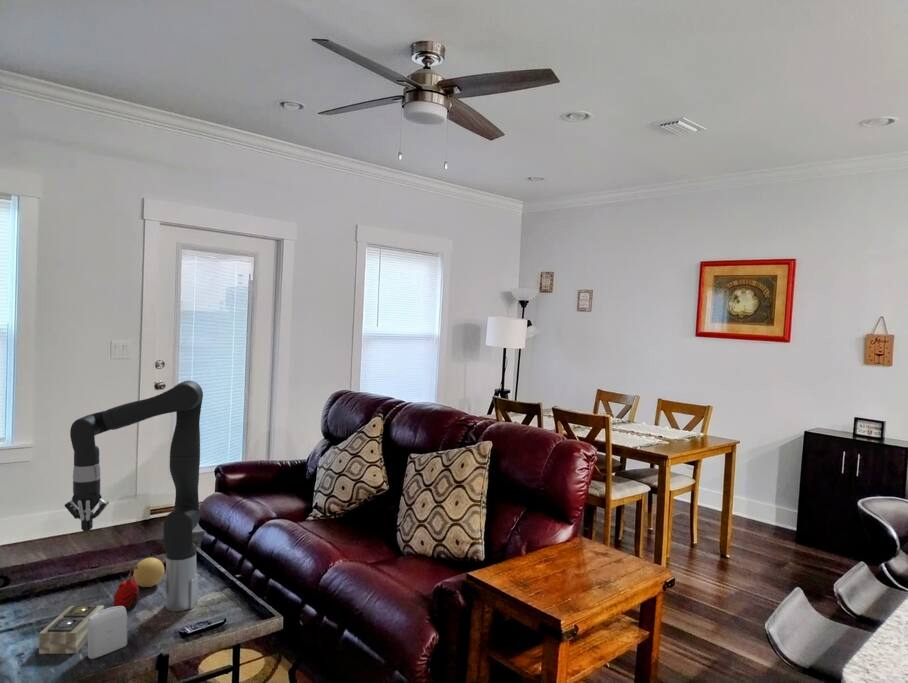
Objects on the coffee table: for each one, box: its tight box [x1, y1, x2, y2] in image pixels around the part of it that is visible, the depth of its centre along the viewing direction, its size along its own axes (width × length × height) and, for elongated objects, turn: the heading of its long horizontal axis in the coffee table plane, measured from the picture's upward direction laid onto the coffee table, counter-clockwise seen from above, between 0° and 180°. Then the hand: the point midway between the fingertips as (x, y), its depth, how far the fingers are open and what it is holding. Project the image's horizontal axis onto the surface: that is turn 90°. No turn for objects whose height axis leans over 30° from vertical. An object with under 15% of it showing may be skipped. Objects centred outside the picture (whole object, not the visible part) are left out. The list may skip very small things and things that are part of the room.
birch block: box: [38, 604, 105, 655], centre depth 180 cm, size 10×16×7 cm, turn 5°
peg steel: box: [58, 620, 73, 628], centre depth 176 cm, size 4×4×6 cm
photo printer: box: [87, 606, 128, 660], centre depth 174 cm, size 10×4×12 cm, turn 140°
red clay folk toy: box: [112, 563, 140, 611], centre depth 199 cm, size 8×7×15 cm
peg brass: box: [73, 606, 87, 614], centre depth 184 cm, size 4×4×6 cm
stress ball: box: [132, 557, 165, 588], centre depth 214 cm, size 10×10×10 cm
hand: (86, 530), depth 194 cm, fingers closed
